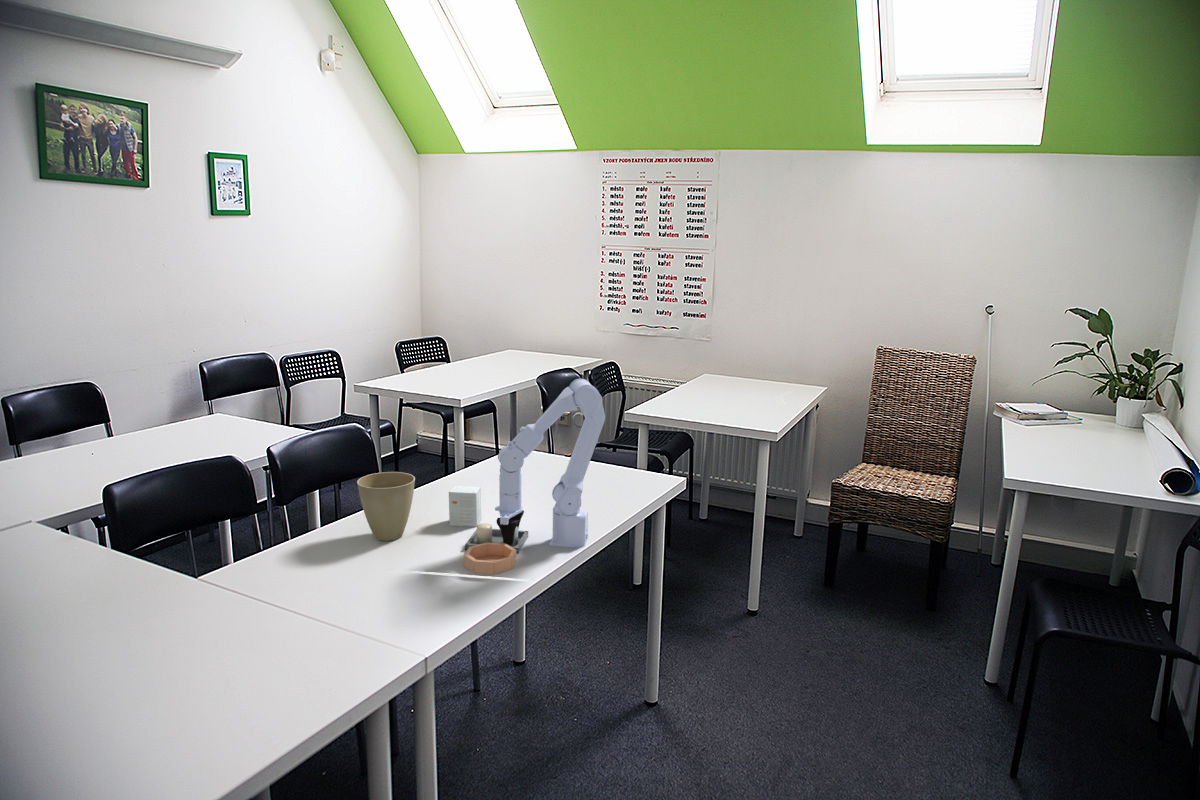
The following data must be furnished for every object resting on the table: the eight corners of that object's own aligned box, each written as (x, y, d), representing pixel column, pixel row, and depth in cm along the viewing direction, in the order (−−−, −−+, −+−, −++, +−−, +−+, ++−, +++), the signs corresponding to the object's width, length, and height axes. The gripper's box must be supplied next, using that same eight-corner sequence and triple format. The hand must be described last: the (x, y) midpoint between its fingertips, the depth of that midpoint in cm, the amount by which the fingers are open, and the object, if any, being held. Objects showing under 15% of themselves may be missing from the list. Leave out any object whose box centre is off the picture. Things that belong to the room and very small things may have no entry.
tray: (528, 538, 211) (528, 531, 211) (518, 555, 200) (518, 548, 199) (477, 534, 213) (477, 527, 212) (465, 552, 201) (465, 544, 201)
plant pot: (423, 527, 217) (422, 472, 214) (405, 548, 203) (403, 489, 199) (372, 524, 219) (369, 470, 215) (350, 544, 204) (347, 486, 201)
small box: (482, 522, 223) (481, 486, 220) (477, 529, 217) (476, 493, 215) (454, 520, 223) (454, 485, 221) (448, 527, 218) (448, 491, 216)
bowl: (519, 557, 199) (519, 544, 198) (508, 577, 187) (508, 563, 186) (473, 554, 200) (473, 541, 199) (459, 573, 188) (459, 560, 188)
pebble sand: (493, 539, 208) (493, 523, 207) (490, 545, 204) (489, 529, 203) (479, 538, 209) (479, 522, 208) (475, 544, 205) (475, 528, 204)
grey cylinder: (519, 541, 207) (519, 525, 206) (516, 547, 204) (516, 531, 203) (504, 540, 208) (504, 524, 207) (501, 546, 204) (501, 530, 203)
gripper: (502, 482, 210) (502, 529, 213) (488, 499, 196) (488, 550, 199) (527, 484, 209) (527, 531, 212) (515, 501, 195) (515, 552, 198)
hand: (510, 541), depth 206 cm, fingers closed on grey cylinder, 4 cm apart
